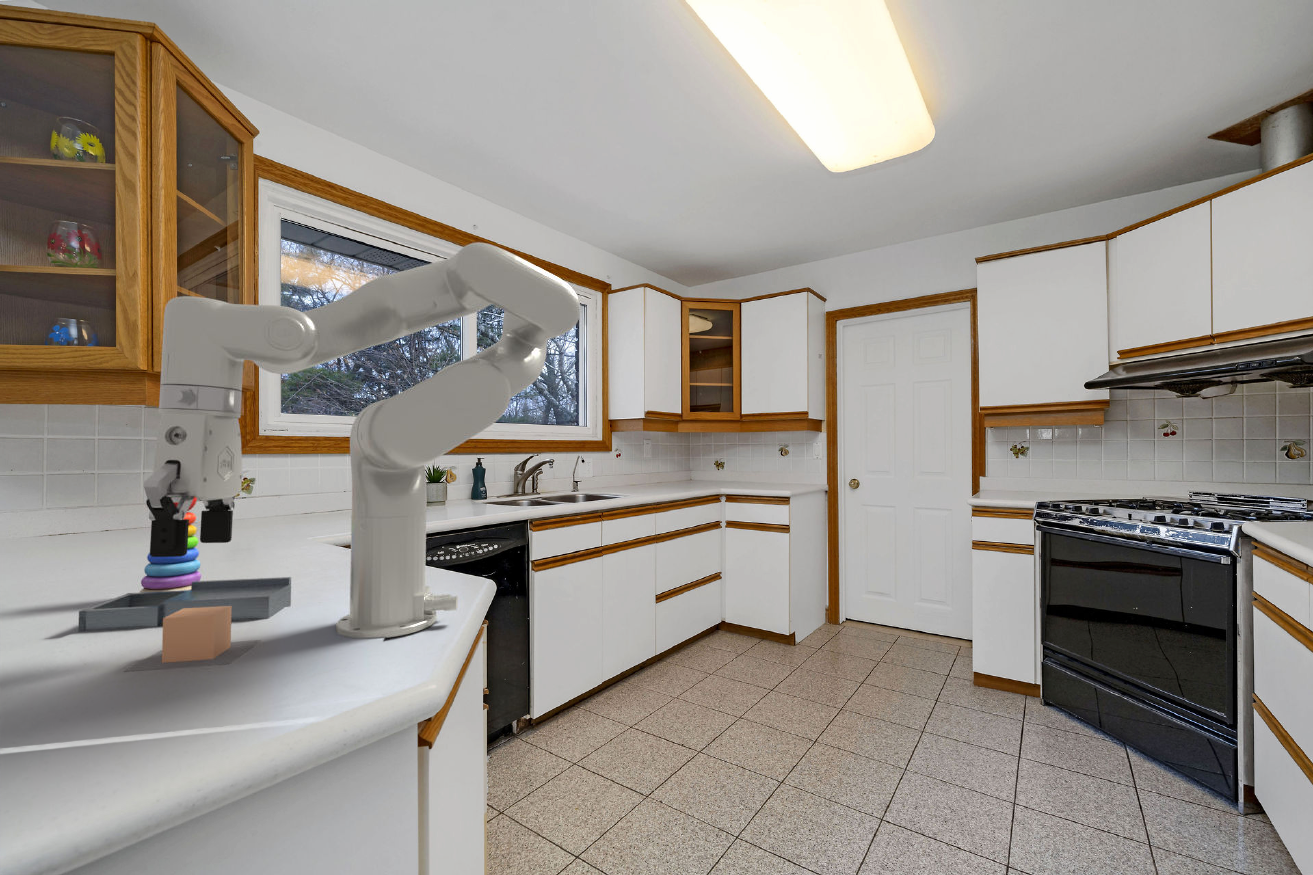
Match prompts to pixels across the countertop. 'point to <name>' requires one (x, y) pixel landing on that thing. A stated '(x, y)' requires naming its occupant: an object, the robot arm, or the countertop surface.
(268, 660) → the countertop surface
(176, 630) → the tan cardboard box
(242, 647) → the mat
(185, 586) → the stacking toy
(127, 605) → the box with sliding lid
